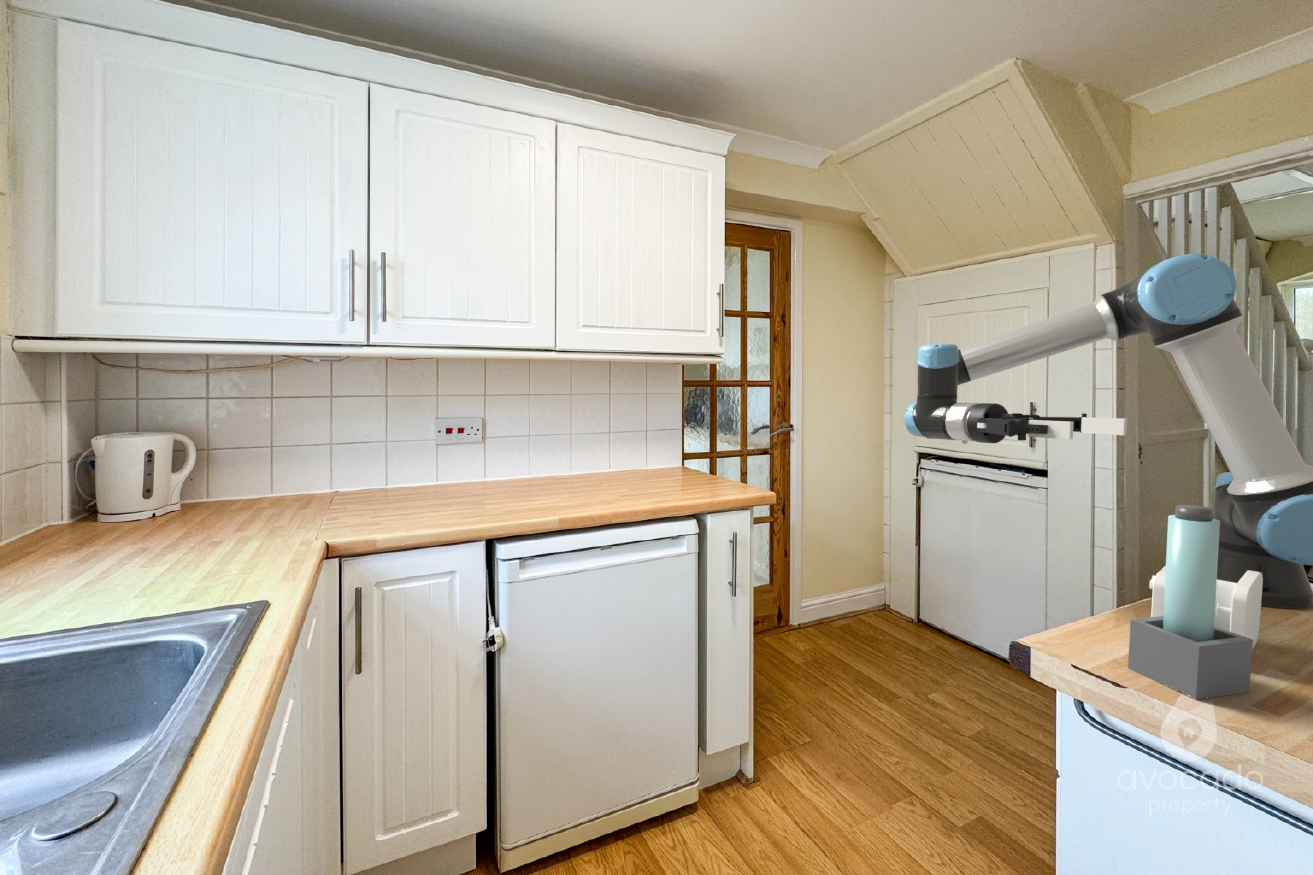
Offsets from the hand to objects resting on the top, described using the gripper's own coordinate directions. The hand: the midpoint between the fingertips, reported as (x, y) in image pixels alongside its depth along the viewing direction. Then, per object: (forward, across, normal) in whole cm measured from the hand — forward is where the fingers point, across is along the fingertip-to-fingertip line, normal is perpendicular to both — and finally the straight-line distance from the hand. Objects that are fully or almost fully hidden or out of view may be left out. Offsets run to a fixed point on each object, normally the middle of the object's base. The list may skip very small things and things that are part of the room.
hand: (1099, 428), depth 91 cm
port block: (+15, +6, -33) cm, 37 cm away
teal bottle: (+15, +6, -33) cm, 37 cm away
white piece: (+10, -9, -33) cm, 36 cm away
